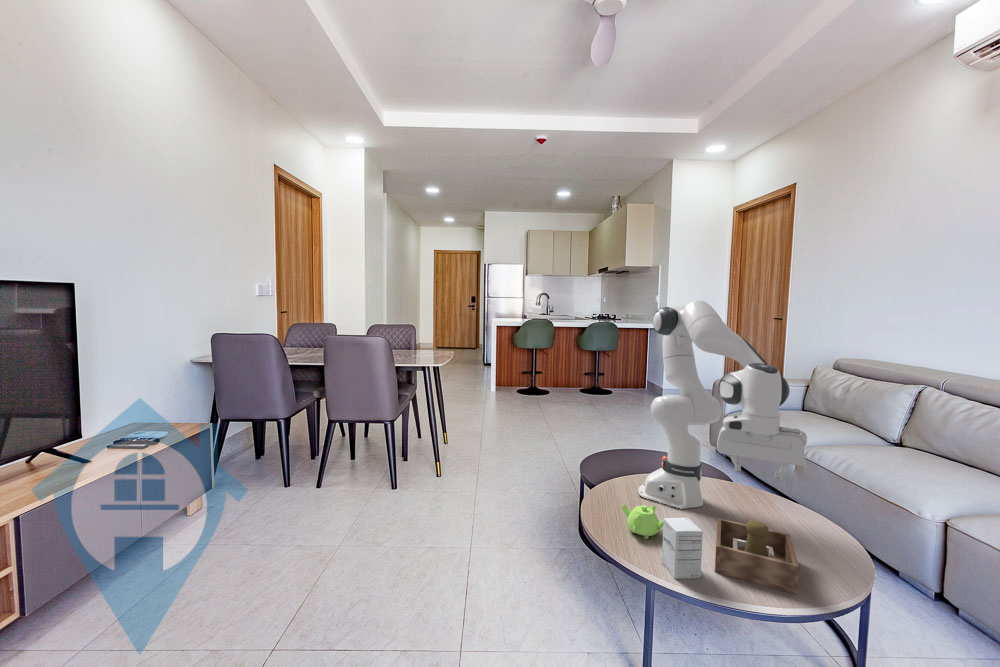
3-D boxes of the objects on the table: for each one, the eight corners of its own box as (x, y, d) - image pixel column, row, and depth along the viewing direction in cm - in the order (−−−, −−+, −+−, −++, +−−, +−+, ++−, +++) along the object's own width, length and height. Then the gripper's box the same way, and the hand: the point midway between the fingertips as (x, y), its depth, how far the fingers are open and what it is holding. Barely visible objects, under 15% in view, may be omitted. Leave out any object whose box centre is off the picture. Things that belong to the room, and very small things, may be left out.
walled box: (714, 571, 111) (716, 545, 111) (716, 540, 127) (717, 518, 127) (797, 594, 103) (798, 566, 102) (788, 558, 118) (789, 534, 118)
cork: (769, 561, 115) (771, 521, 115) (767, 571, 110) (769, 530, 110) (744, 553, 119) (746, 515, 118) (741, 562, 114) (743, 522, 113)
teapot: (630, 541, 125) (631, 514, 125) (619, 523, 137) (620, 497, 136) (667, 543, 125) (669, 515, 125) (654, 523, 137) (655, 498, 136)
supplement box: (660, 562, 115) (662, 517, 114) (686, 561, 115) (688, 516, 115) (673, 579, 108) (675, 531, 107) (701, 578, 108) (703, 530, 108)
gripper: (805, 427, 111) (802, 478, 112) (718, 416, 121) (716, 464, 121) (809, 433, 106) (806, 487, 106) (717, 421, 115) (715, 471, 116)
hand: (757, 474), depth 114 cm, fingers open, 8 cm apart
